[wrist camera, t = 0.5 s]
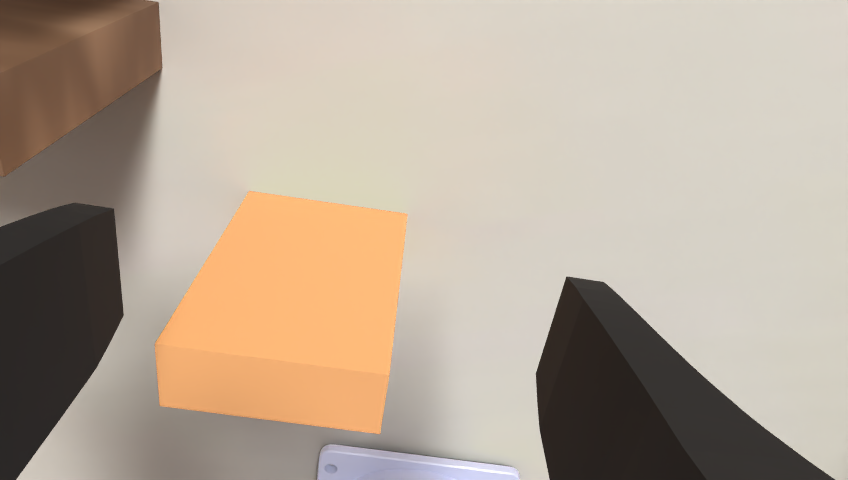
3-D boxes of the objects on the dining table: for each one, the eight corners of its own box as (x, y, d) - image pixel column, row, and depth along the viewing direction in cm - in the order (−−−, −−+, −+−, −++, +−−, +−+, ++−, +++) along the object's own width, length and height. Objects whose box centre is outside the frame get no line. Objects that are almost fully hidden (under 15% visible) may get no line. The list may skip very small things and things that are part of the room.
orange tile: (400, 261, 21) (380, 433, 15) (248, 240, 21) (159, 406, 14) (407, 213, 20) (389, 375, 14) (249, 191, 20) (155, 344, 14)
